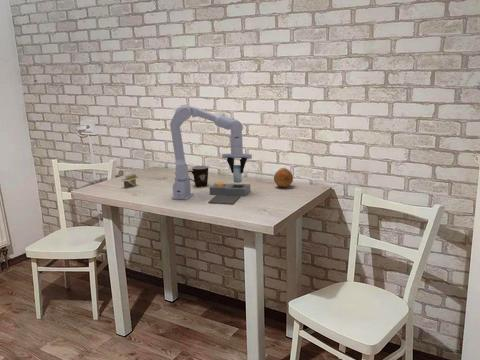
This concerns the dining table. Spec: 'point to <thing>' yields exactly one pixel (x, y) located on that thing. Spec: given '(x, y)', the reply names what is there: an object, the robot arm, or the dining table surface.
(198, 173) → the coffee mug
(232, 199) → the mat
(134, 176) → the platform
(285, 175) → the onion
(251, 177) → the dining table surface
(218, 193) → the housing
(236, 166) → the cylinder
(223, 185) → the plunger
